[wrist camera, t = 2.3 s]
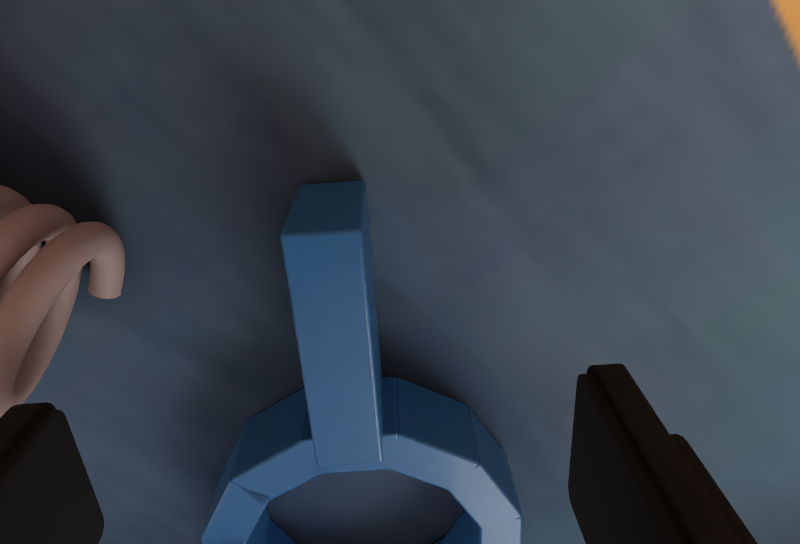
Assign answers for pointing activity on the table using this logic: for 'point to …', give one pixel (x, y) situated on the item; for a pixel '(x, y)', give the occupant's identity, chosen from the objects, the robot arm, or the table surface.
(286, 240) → the ring
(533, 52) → the table surface
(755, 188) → the table surface
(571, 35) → the table surface
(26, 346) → the coil
